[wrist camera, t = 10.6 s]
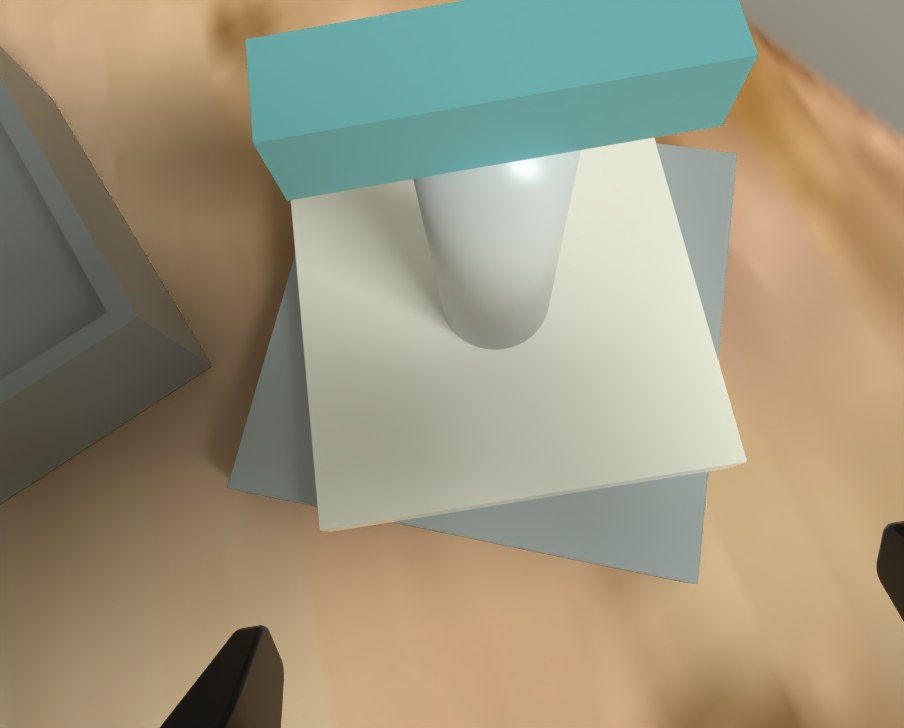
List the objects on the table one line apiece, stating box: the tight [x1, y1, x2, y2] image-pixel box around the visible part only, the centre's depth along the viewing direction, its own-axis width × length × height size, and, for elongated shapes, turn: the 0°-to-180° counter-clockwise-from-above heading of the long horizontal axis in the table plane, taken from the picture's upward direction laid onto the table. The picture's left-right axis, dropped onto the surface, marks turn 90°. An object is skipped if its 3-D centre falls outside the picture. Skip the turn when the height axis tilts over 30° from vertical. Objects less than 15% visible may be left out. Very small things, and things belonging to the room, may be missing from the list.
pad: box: [228, 143, 737, 584], centre depth 20 cm, size 13×13×2 cm
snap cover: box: [246, 0, 758, 532], centre depth 14 cm, size 11×11×10 cm
